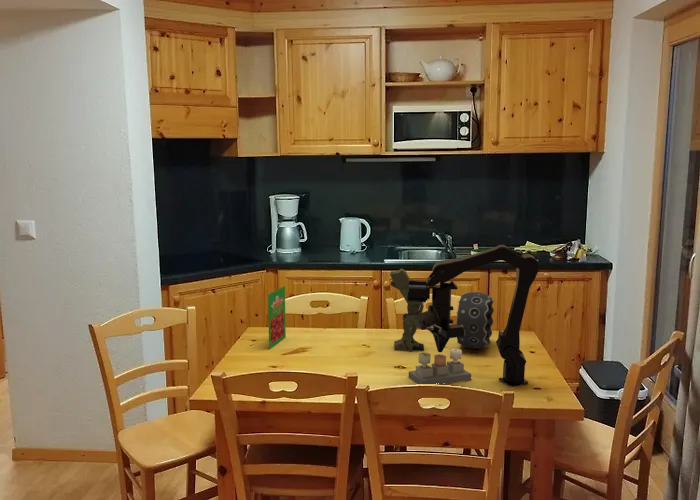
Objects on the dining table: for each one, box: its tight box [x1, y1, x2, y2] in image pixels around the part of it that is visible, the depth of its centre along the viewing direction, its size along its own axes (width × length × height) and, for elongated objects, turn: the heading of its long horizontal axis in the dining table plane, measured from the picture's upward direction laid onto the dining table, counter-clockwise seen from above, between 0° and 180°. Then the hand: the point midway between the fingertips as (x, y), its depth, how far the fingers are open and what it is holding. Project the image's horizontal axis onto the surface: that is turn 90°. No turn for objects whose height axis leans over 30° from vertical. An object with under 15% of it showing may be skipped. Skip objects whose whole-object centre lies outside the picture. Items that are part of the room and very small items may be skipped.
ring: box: [455, 291, 495, 350], centre depth 231 cm, size 11×20×20 cm, turn 160°
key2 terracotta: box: [433, 353, 447, 366], centre depth 201 cm, size 4×4×5 cm
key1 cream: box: [449, 348, 463, 364], centre depth 203 cm, size 4×4×5 cm
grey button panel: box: [408, 360, 472, 385], centre depth 201 cm, size 9×17×4 cm, turn 112°
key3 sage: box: [418, 352, 431, 369], centre depth 198 cm, size 4×4×5 cm
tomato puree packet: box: [267, 285, 287, 350], centre depth 235 cm, size 15×1×20 cm, turn 163°
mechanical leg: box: [389, 268, 425, 352], centre depth 229 cm, size 14×7×30 cm, turn 84°
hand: (439, 352), depth 200 cm, fingers closed
